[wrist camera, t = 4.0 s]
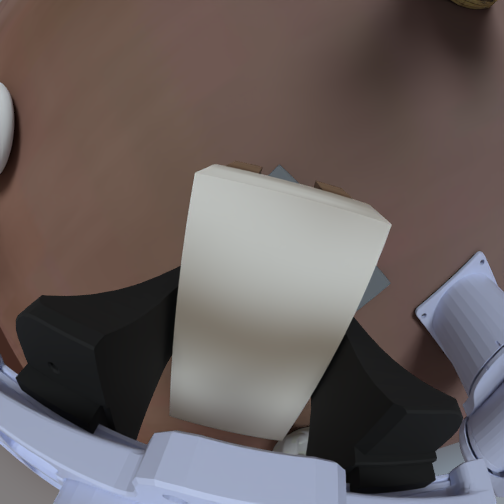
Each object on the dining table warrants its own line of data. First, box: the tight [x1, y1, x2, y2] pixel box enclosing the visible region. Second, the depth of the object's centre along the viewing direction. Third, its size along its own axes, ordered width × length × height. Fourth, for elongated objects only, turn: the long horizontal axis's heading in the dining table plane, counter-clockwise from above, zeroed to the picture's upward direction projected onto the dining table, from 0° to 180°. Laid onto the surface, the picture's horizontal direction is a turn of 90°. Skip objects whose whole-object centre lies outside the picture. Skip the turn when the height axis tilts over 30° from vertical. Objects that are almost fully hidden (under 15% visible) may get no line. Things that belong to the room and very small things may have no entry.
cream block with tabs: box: [169, 161, 392, 441], centre depth 11 cm, size 10×5×6 cm, turn 167°
